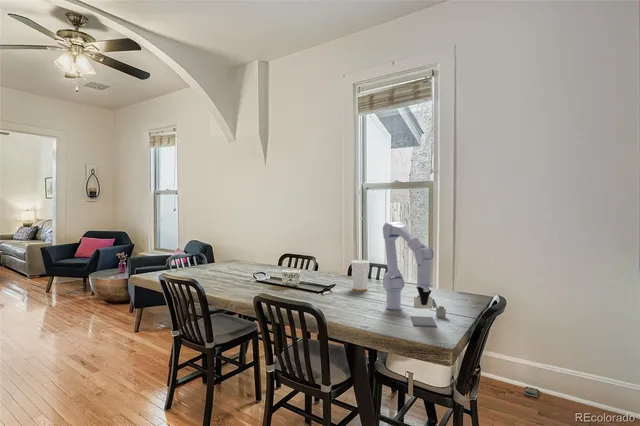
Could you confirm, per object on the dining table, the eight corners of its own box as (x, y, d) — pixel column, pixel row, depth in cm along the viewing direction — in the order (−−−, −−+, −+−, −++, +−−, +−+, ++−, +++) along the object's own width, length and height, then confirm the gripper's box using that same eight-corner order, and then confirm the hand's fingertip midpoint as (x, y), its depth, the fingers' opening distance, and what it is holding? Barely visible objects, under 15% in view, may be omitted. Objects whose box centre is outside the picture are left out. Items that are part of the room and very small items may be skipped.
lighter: (445, 317, 164) (446, 300, 164) (444, 318, 163) (445, 301, 162) (430, 314, 168) (431, 298, 168) (429, 315, 167) (429, 299, 166)
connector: (413, 306, 159) (413, 291, 159) (431, 306, 158) (431, 292, 158) (414, 308, 156) (414, 293, 156) (432, 308, 155) (432, 294, 155)
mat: (410, 317, 164) (410, 316, 164) (432, 318, 163) (432, 317, 163) (413, 326, 152) (413, 325, 152) (437, 327, 151) (437, 326, 151)
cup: (373, 289, 215) (373, 261, 214) (359, 292, 208) (359, 263, 208) (361, 286, 224) (361, 259, 224) (347, 288, 218) (347, 261, 217)
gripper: (435, 277, 149) (435, 309, 150) (430, 271, 163) (429, 299, 164) (419, 277, 150) (418, 308, 151) (414, 270, 164) (414, 298, 165)
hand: (423, 303), depth 157 cm, fingers closed on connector, 3 cm apart
